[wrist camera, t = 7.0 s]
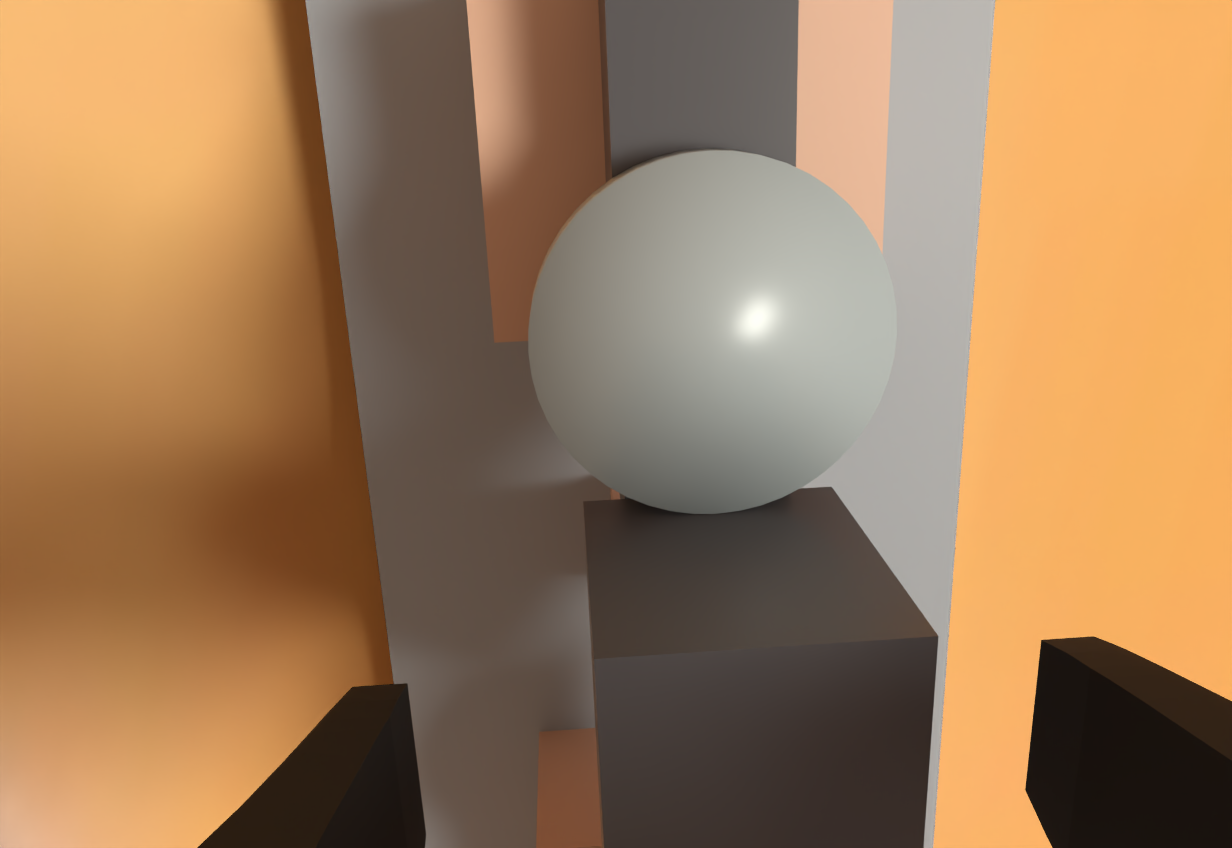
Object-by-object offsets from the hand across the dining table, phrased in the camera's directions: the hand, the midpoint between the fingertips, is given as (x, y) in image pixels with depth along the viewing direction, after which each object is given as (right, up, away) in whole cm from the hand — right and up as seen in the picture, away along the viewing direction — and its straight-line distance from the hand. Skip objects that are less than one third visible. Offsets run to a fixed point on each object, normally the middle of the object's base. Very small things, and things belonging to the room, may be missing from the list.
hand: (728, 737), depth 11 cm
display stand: (0, +2, +7) cm, 7 cm away
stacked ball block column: (0, +1, +3) cm, 3 cm away
